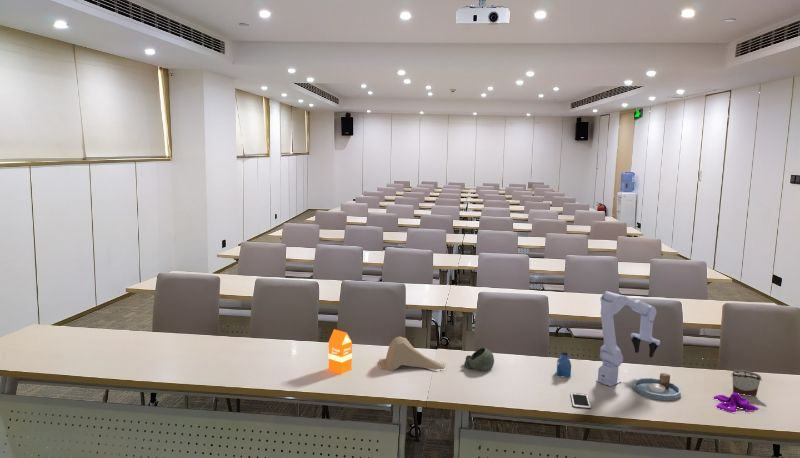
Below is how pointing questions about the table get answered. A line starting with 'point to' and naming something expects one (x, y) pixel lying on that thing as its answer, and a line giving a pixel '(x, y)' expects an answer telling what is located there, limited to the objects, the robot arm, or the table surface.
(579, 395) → the cell phone
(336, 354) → the orange juice
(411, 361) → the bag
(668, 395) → the round tray
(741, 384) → the food container
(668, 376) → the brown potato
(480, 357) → the green round pot
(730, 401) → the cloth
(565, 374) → the perfume bottle
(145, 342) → the table surface
